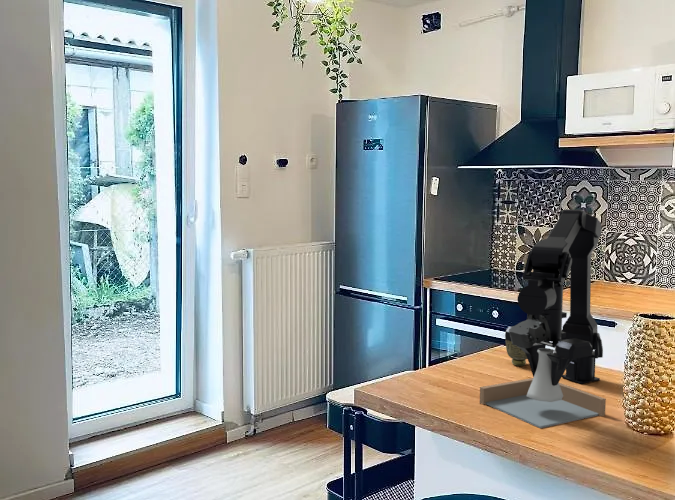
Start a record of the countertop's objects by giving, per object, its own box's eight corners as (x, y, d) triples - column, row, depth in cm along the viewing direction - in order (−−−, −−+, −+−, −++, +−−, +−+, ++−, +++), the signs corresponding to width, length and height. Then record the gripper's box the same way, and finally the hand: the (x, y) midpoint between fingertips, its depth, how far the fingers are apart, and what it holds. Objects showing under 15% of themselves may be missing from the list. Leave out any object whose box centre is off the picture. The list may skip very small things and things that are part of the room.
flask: (553, 405, 127) (554, 356, 126) (519, 397, 132) (520, 350, 131) (569, 396, 133) (570, 349, 132) (536, 389, 138) (537, 343, 137)
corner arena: (540, 391, 147) (541, 376, 147) (605, 415, 132) (605, 398, 131) (479, 402, 139) (480, 387, 139) (540, 429, 123) (540, 412, 123)
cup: (528, 370, 165) (529, 339, 164) (500, 365, 169) (501, 335, 168) (536, 363, 171) (537, 334, 171) (509, 359, 175) (510, 330, 175)
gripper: (486, 303, 135) (484, 375, 137) (553, 319, 119) (550, 401, 120) (526, 299, 140) (524, 368, 142) (595, 313, 124) (592, 392, 125)
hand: (545, 382), depth 132 cm, fingers closed on flask, 5 cm apart
